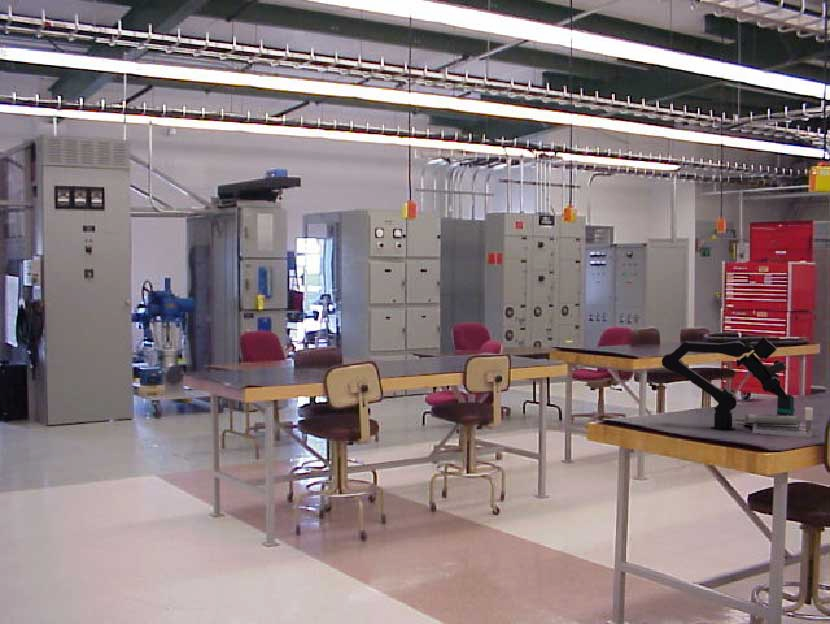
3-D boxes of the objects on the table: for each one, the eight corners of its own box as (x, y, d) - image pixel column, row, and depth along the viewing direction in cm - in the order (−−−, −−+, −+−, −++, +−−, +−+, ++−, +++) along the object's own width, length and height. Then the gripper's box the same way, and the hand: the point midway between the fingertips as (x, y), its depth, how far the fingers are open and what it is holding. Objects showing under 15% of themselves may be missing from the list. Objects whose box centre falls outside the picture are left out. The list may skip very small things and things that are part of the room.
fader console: (752, 433, 318) (752, 426, 318) (753, 428, 328) (753, 422, 328) (811, 437, 310) (811, 431, 310) (811, 433, 320) (811, 426, 320)
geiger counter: (802, 412, 322) (731, 411, 329) (802, 429, 321) (732, 427, 328) (796, 415, 335) (729, 413, 342) (797, 431, 334) (729, 429, 341)
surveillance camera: (800, 392, 346) (791, 394, 339) (799, 422, 347) (790, 425, 339) (785, 391, 350) (777, 393, 343) (784, 420, 350) (776, 423, 343)
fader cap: (804, 430, 314) (805, 408, 314) (804, 428, 318) (805, 407, 318) (812, 431, 313) (812, 409, 313) (811, 429, 317) (812, 407, 317)
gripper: (772, 355, 311) (805, 386, 307) (773, 351, 328) (804, 381, 324) (749, 375, 315) (781, 407, 311) (751, 371, 332) (781, 401, 328)
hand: (787, 398), depth 318 cm, fingers closed
